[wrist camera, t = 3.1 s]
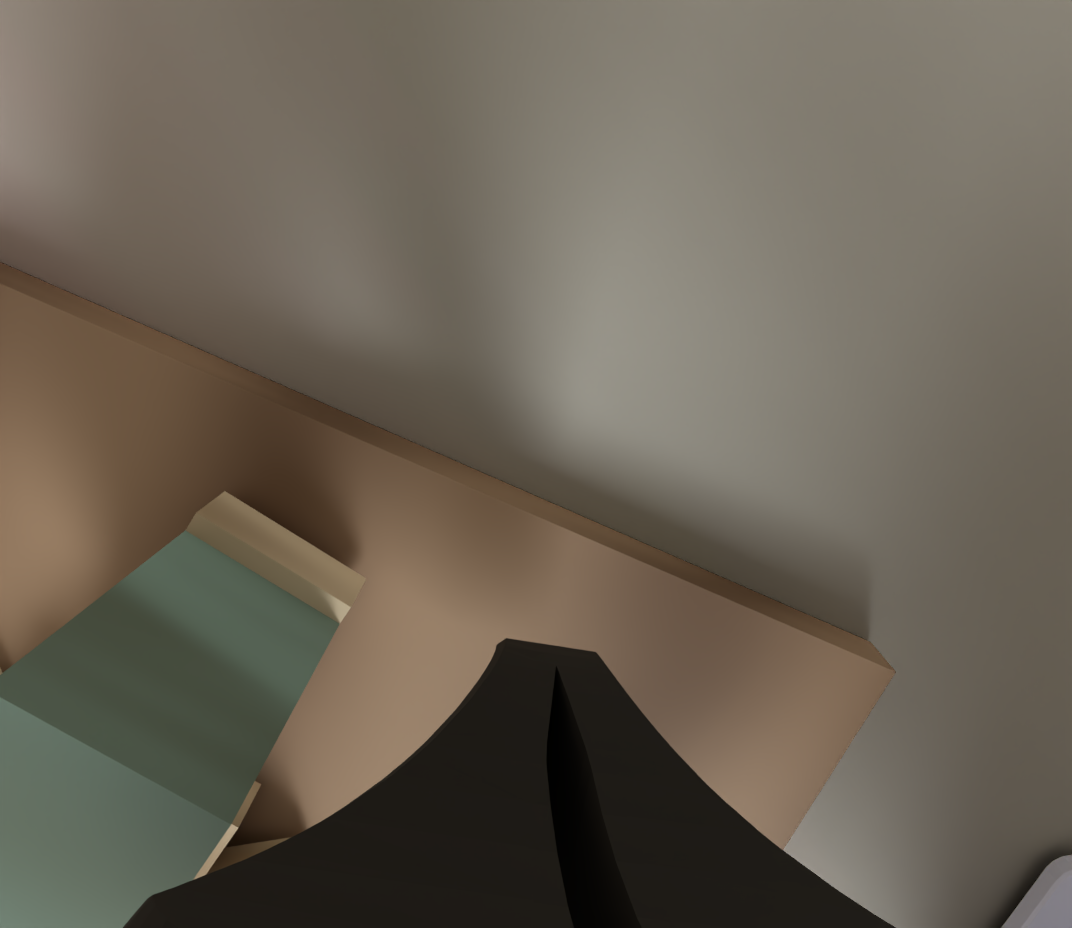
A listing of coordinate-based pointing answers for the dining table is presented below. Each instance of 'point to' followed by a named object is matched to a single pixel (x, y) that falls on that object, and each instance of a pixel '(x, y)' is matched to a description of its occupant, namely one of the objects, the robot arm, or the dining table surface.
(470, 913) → the robot arm
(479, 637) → the post board
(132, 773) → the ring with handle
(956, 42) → the dining table surface
